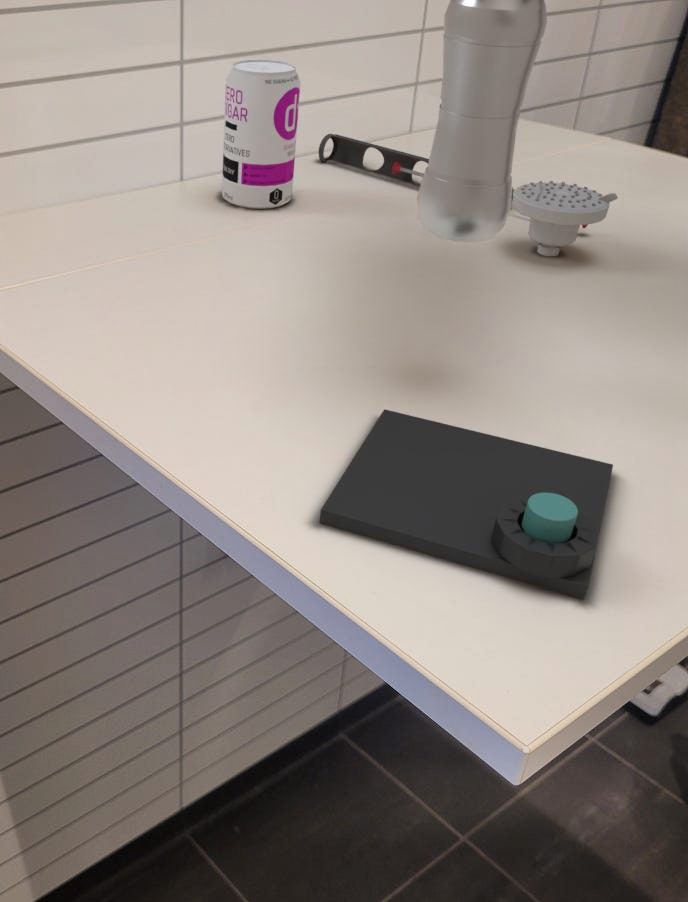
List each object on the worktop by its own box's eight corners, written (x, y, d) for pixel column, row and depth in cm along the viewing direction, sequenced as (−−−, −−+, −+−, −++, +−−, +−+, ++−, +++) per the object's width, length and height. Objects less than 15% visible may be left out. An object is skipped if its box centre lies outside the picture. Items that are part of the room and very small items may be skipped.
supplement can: (303, 199, 113) (314, 65, 104) (268, 218, 107) (277, 77, 98) (245, 186, 116) (251, 55, 108) (208, 203, 110) (212, 66, 102)
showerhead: (619, 207, 90) (512, 194, 93) (599, 279, 94) (497, 264, 97) (618, 180, 98) (519, 168, 100) (599, 248, 102) (505, 234, 104)
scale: (607, 481, 64) (619, 444, 63) (581, 608, 54) (595, 567, 52) (381, 425, 70) (387, 389, 68) (316, 530, 59) (321, 491, 57)
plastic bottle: (474, 260, 66) (539, -69, 54) (394, 235, 70) (438, -79, 58) (519, 237, 70) (588, -74, 58) (440, 215, 73) (491, -83, 62)
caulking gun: (362, 134, 128) (317, 131, 122) (619, 202, 107) (581, 203, 100) (355, 164, 130) (310, 163, 123) (607, 237, 109) (569, 240, 102)
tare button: (573, 523, 56) (581, 499, 55) (567, 550, 54) (575, 525, 53) (525, 510, 57) (532, 487, 56) (517, 536, 55) (524, 512, 54)
